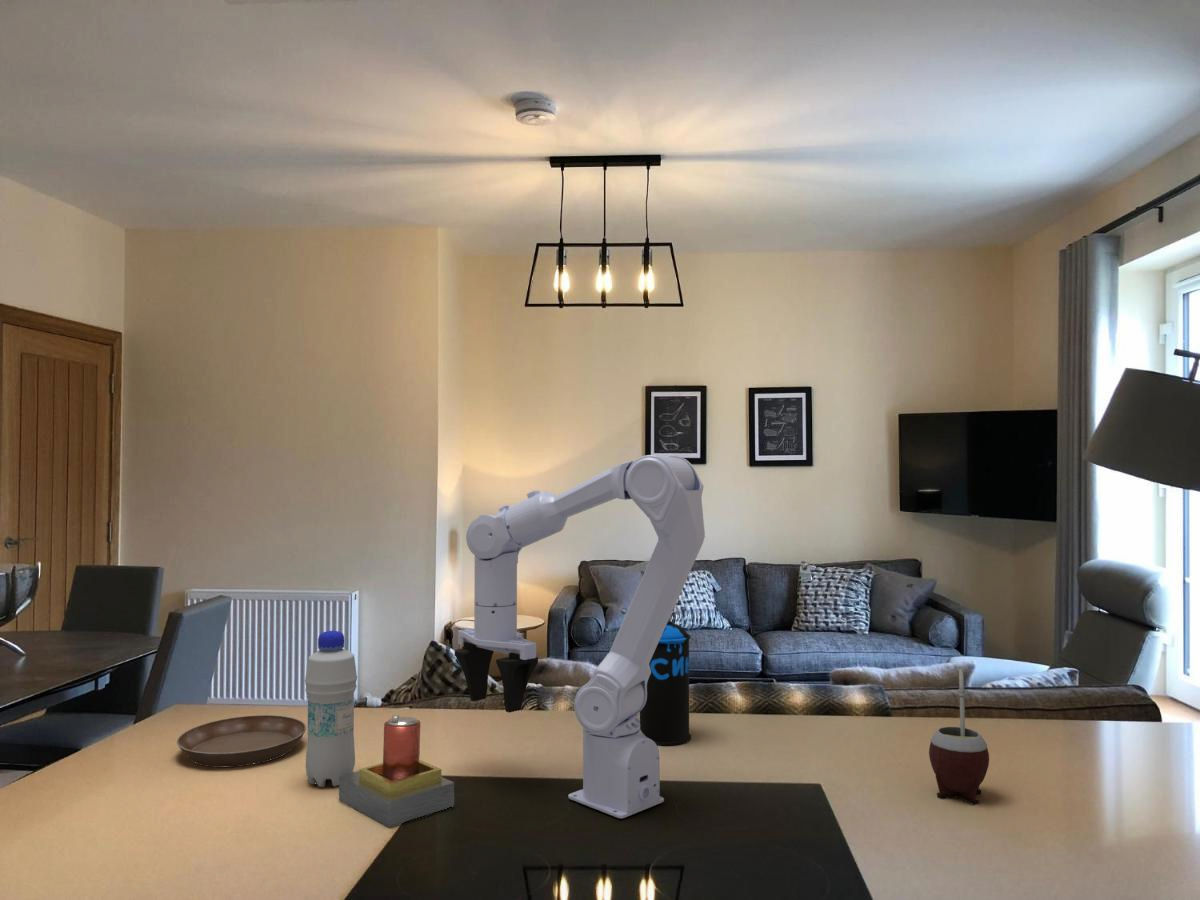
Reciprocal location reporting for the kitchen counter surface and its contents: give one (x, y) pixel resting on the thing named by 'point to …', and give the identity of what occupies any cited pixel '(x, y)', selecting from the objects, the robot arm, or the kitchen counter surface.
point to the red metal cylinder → (401, 747)
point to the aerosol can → (668, 690)
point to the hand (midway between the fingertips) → (495, 705)
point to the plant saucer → (241, 740)
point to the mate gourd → (959, 757)
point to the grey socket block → (396, 793)
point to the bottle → (330, 710)
